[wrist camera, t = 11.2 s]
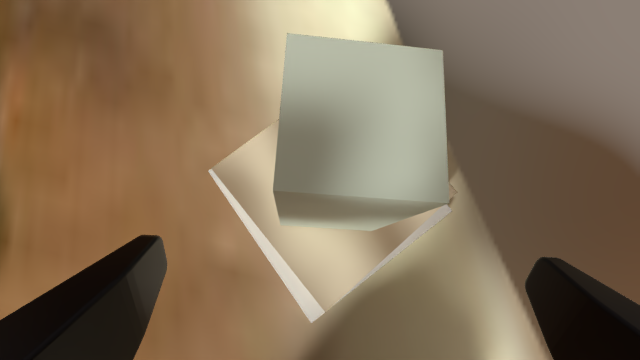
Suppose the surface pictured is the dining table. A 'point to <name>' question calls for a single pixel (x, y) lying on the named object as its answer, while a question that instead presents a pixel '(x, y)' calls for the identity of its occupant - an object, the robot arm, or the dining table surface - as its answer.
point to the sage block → (359, 134)
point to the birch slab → (308, 242)
